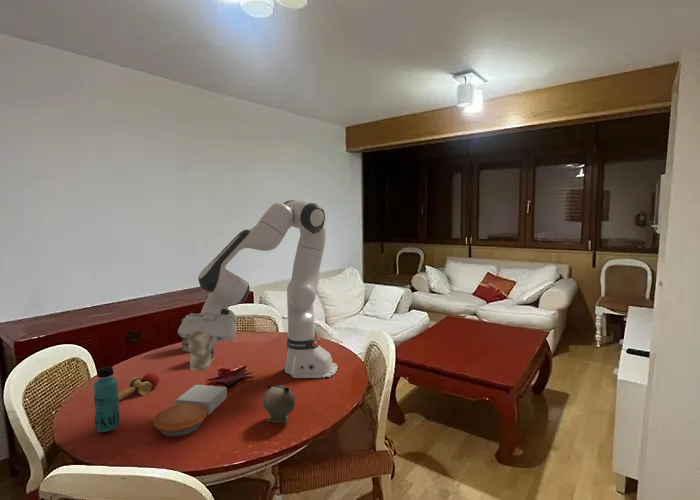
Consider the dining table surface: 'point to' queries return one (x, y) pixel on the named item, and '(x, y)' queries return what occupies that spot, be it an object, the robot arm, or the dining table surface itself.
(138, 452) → the dining table surface
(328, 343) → the dining table surface
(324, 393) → the dining table surface
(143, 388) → the kendama
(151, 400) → the dining table surface
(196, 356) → the ash block
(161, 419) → the pie
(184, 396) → the grey base block
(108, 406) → the beverage bottle
